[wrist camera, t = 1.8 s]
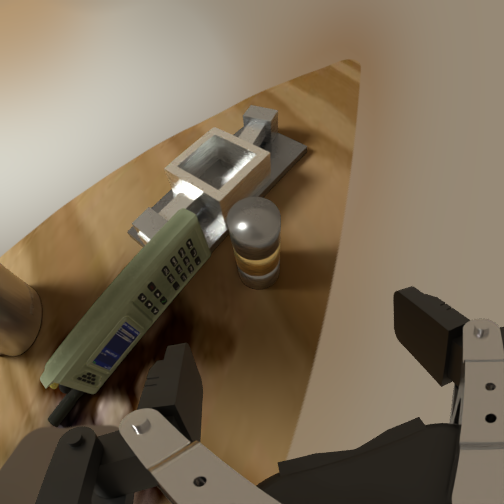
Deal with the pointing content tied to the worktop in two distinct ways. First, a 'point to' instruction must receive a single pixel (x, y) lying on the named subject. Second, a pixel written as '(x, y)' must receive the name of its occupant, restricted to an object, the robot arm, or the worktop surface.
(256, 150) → the base
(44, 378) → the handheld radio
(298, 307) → the worktop surface
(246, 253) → the grey cylinder with band
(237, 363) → the worktop surface
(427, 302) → the robot arm
